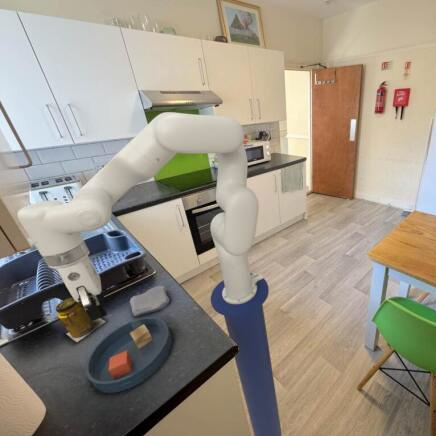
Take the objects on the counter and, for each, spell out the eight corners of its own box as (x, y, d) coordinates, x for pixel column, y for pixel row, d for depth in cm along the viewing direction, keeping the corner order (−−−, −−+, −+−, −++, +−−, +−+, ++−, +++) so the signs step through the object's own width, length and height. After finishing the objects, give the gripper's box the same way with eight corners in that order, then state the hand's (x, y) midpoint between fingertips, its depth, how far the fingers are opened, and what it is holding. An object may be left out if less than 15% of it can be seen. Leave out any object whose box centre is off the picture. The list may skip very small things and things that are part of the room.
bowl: (163, 315, 82) (159, 307, 80) (180, 358, 68) (176, 349, 66) (91, 351, 71) (85, 343, 69) (93, 411, 57) (86, 402, 55)
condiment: (66, 334, 77) (47, 307, 72) (94, 315, 84) (79, 289, 79) (77, 342, 74) (58, 315, 69) (106, 322, 81) (91, 296, 76)
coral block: (131, 359, 68) (126, 350, 66) (131, 371, 65) (126, 362, 63) (115, 366, 66) (109, 357, 64) (114, 379, 63) (108, 370, 61)
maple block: (147, 332, 76) (143, 323, 74) (152, 339, 73) (148, 330, 71) (134, 341, 73) (129, 332, 71) (138, 349, 71) (134, 340, 69)
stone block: (173, 307, 88) (165, 289, 94) (169, 299, 85) (161, 281, 91) (136, 325, 82) (131, 304, 88) (131, 318, 79) (126, 296, 85)
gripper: (87, 263, 51) (119, 322, 59) (86, 234, 63) (112, 286, 71) (40, 279, 47) (81, 340, 55) (48, 244, 59) (81, 298, 67)
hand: (98, 309), depth 63 cm, fingers open, 6 cm apart
